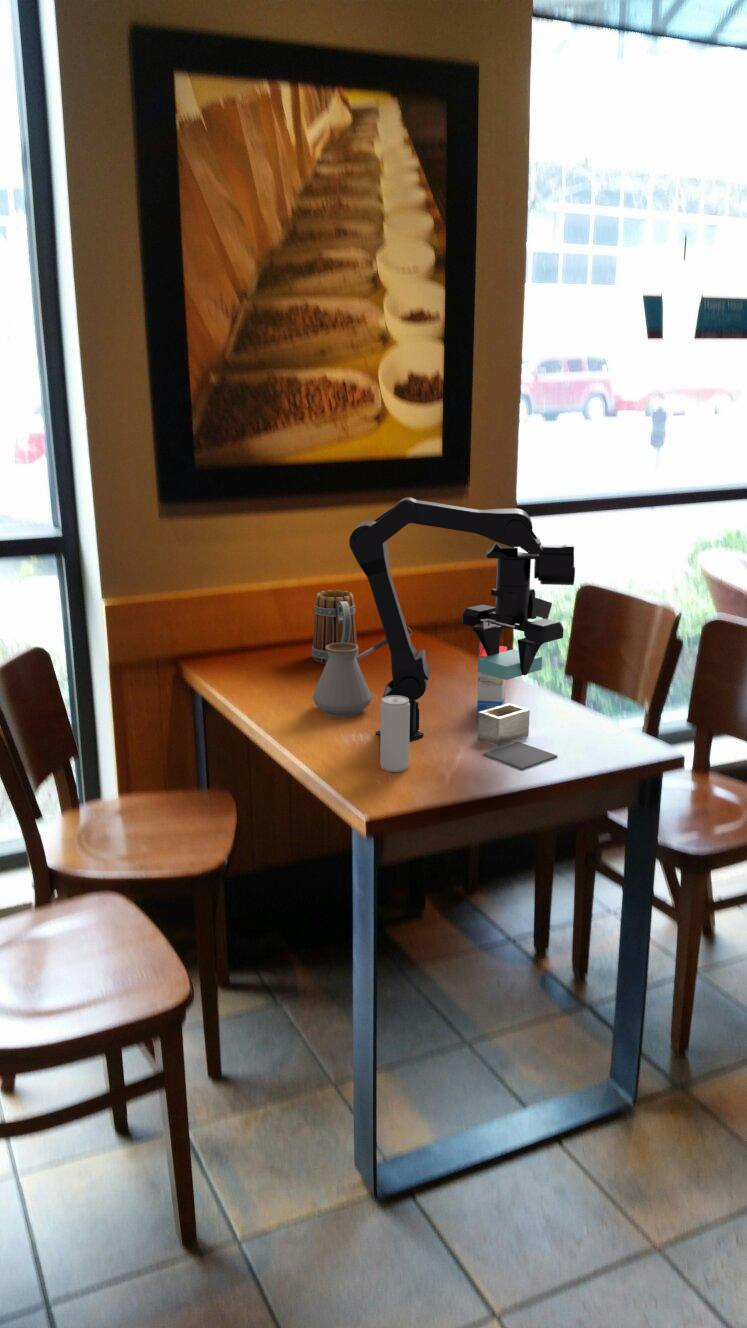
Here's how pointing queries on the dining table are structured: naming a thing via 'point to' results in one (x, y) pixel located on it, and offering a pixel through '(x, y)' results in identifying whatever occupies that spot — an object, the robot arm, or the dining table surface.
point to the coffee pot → (344, 681)
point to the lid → (506, 665)
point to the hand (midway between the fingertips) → (509, 670)
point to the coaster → (520, 755)
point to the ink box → (490, 687)
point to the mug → (333, 622)
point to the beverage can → (394, 733)
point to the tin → (503, 724)
